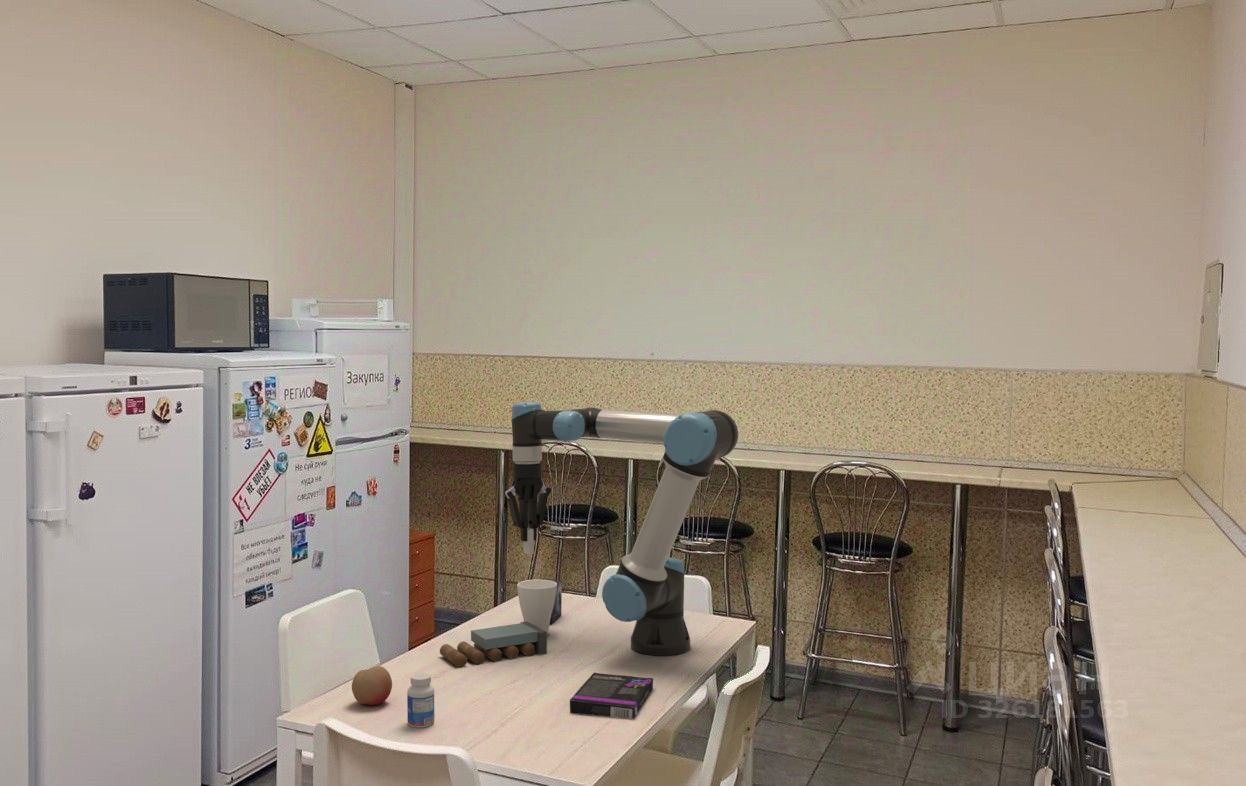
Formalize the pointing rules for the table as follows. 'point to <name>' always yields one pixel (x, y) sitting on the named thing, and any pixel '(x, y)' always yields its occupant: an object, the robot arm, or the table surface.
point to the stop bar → (539, 639)
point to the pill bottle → (420, 701)
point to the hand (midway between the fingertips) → (528, 553)
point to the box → (611, 695)
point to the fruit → (372, 686)
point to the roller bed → (482, 652)
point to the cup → (537, 601)
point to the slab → (504, 636)
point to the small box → (556, 601)
